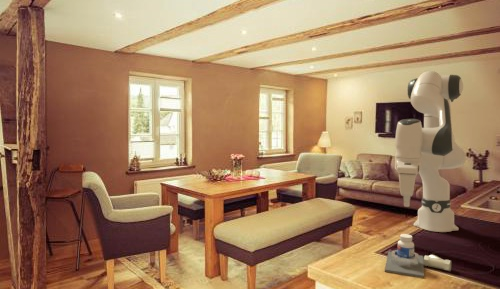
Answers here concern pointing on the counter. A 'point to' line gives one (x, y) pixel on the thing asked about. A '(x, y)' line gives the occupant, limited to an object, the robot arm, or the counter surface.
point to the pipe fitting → (437, 262)
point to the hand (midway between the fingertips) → (407, 202)
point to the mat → (412, 271)
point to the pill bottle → (405, 246)
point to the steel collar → (404, 260)
